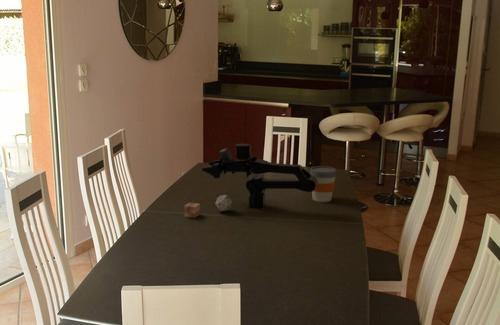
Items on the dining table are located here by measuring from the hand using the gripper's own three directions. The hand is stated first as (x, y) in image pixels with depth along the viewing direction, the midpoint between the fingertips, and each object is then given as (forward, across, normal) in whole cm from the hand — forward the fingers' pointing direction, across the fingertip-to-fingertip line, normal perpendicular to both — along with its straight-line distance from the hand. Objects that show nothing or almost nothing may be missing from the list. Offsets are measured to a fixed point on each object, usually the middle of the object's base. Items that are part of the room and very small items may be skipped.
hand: (205, 166), depth 258 cm
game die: (-12, +12, +18) cm, 25 cm away
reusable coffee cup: (-51, -19, +22) cm, 59 cm away
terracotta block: (0, +22, +16) cm, 27 cm away
